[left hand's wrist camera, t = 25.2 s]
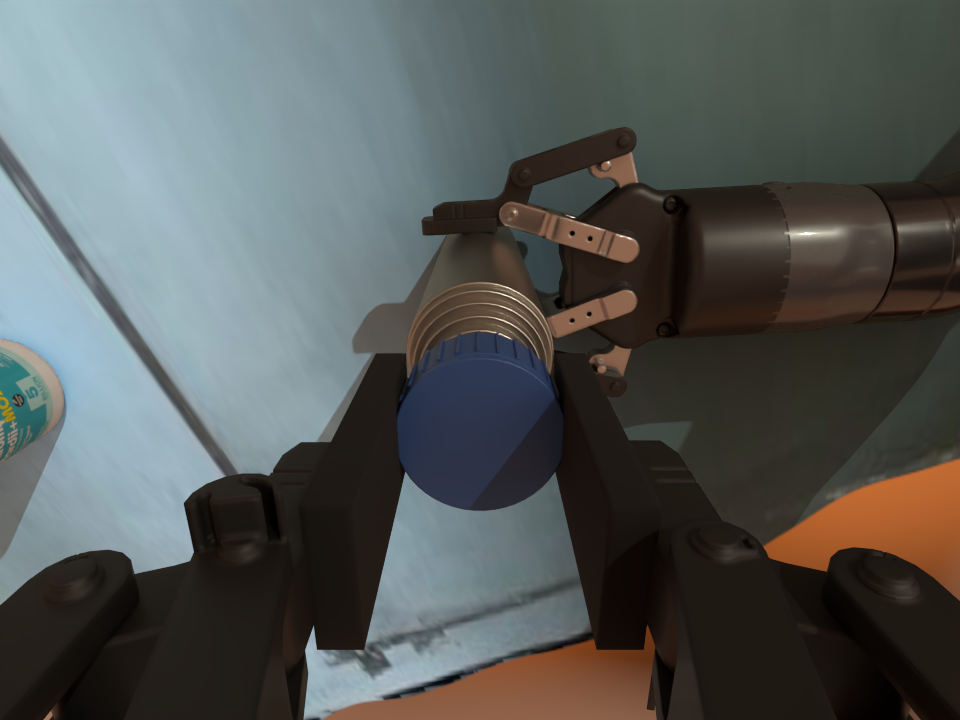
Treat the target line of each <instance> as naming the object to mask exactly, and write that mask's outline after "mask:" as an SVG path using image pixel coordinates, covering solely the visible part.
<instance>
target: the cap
mask: <svg viewBox="0 0 960 720" xmlns="http://www.w3.org/2000/svg"><path fill="white" fill-rule="evenodd" d="M559 399H561V398H560V395H559V391H558V388H557V385H556V382H555V379H554V376H553V374H552V375H550V374H549V372H548V370H547V367H546V364H545V361H544V360H542V361H541V360H540V359H539V358H538V357H537V356H536V355H535V354H534V353H533V349H532V348H529V349H528V348H527V347H525V346H524V345H522V344H520V343H518V342H517V339H515V338H514V339H513V340H512V339H509V338H507V337H503V336H499V333H496V334H487V333H480V331H477V333H474V334H465V335H461V333H460V334H458V336H457V337H454V338H451V339H449V340H446V341H444V340H441V341H440V344H439V345H437V346H436V347H434V348H433V349H431V350H430V351H429V350H426V351H425V354H424V356H423V357H422V358H421V360H420V361H419V362H418V363H414V365H413V368H412V371H411V375H410V377H409V378H406V381H405V384H404V387H403V390H402V393H401V396H400V399H399V403H401V404H400V408H399V411H398V414H397V430H398V447H399V460H400V462H401V464H402V466H403V468H404V470H405V471H406V473H407V474H408V476H409V477H410V479H411V480H412V481H413V482H414V483H415V484H416V485H417V486H418V487H419V488H420V489H421V490H422V491H424V492H425V493H426V494H428V495H429V496H431V497H432V498H434V499H436V500H438V501H440V502H442V503H444V504H447V505H450V506H452V507H456V508H460V509H465V510H474V511H486V510H496V509H500V508H505V507H508V506H511V505H514V504H517V503H519V502H521V501H523V500H525V499H527V498H528V497H530V496H531V495H533V494H534V493H536V492H537V491H538V490H539V489H541V488H542V487H543V486H544V485H545V484H546V483H547V482H548V481H549V479H550V478H551V477H552V475H553V474H554V472H555V471H556V469H557V467H558V465H559V464H560V461H561V458H562V441H563V424H564V415H563V412H562V409H561V405H560V402H559Z"/></svg>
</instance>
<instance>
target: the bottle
mask: <svg viewBox="0 0 960 720" xmlns="http://www.w3.org/2000/svg"><path fill="white" fill-rule="evenodd" d="M477 331H480V333H487V334H496V333H499V336H503V337H507V338H509V339H512V340H513V339H514V338H515V339H517V342H518V343H520V344H522V345H524V346H525V347H527V348H528V349H529V348H532V349H533V353H534V354H535V355H536V356H537V357H538V358H539V359H540V360H541V361H542V360H544V361H545V364H546V367H547V370H548V372H549V374H551V370H552V364H553V358H554V343H553V337H552V333H551V330H550V327H549V324H548V322H547V319H546V317H545V314H544V311H543V309H542V306H541V304H540V301H539V299H538V296H537V293H536V291H535V288H534V286H533V283H532V281H531V278H530V276H529V273H528V270H527V268H526V265H525V263H524V260H523V258H522V255H521V253H520V250H519V247H518V245H517V242H516V240H515V237H514V235H513V233H512V232H511V230H510V229H509V228H508V227H507V226H503V227H498V232H476V233H464V234H447V236H446V238H445V241H444V243H443V246H442V249H441V251H440V254H439V256H438V259H437V261H436V264H435V267H434V269H433V272H432V274H431V277H430V279H429V282H428V285H427V287H426V290H425V292H424V295H423V297H422V300H421V303H420V305H419V308H418V310H417V313H416V315H415V318H414V321H413V323H412V326H411V328H410V332H409V335H408V340H407V361H408V366H409V372H410V375H411V371H412V368H413V365H414V363H418V362H419V361H420V360H421V358H422V357H423V356H424V354H425V351H426V350H429V351H430V350H431V349H433V348H434V347H436V346H437V345H439V344H440V341H441V340H444V341H446V340H449V339H451V338H454V337H457V336H458V334H460V333H461V335H465V334H474V333H477Z"/></svg>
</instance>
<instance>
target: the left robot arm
mask: <svg viewBox="0 0 960 720" xmlns="http://www.w3.org/2000/svg"><path fill="white" fill-rule="evenodd" d="M406 378H407V365H406V353H402V354H376V355H375V356H374V358H373V360H372V362H371V364H370V366H369V368H368V370H367V372H366V374H365V376H364V378H363V380H362V382H361V384H360V386H359V388H358V390H357V392H356V394H355V396H354V398H353V400H352V402H351V404H350V406H349V408H348V410H347V412H346V414H345V415H344V417H343V419H342V421H341V423H340V425H339V427H338V429H337V431H336V433H335V435H334V437H333V439H332V441H331V442H301V443H299V444H298V445H296V446H295V447H294V448H292V449H291V450H289V451H288V452H286V453H285V454H284V455H282V457H281V459H280V460H279V462H278V463H277V465H276V466H275V468H274V469H273V473H271V474H270V476H267V475H263V474H238V475H233V476H228V477H223V478H221V479H218V480H216V481H213V482H210V483H208V484H206V485H204V486H203V487H201V488H199V489H198V490H196V491H195V492H193V493H192V494H191V495H190V497H189V498H188V499H187V500H186V501H185V502H184V507H185V511H186V516H187V521H188V526H189V530H190V535H191V540H192V544H193V549H194V553H193V556H192V558H191V561H189V562H186V563H182V564H178V565H175V566H171V567H166V568H161V569H156V570H152V571H147V572H142V573H137V574H134V570H133V566H132V563H131V560H130V559H129V558H128V557H127V556H126V555H125V554H124V553H122V552H117V551H112V550H100V551H89V552H85V553H80V554H78V555H73V556H70V557H67V558H65V559H63V560H61V561H59V562H57V563H55V564H53V565H51V566H49V567H46V568H45V569H44V570H42V571H41V572H39V573H38V574H37V575H35V576H34V577H32V578H31V579H30V580H28V581H27V582H26V583H25V584H24V585H23V586H21V587H20V588H19V589H18V590H17V591H16V592H15V593H14V594H12V595H11V596H10V597H9V598H8V599H7V600H6V601H5V602H4V603H2V604H1V605H0V720H43V719H44V718H45V717H46V716H47V715H48V713H49V712H50V711H51V712H52V714H53V716H52V717H51V719H50V720H303V718H304V708H305V699H306V689H307V680H308V669H307V661H306V654H305V649H306V646H307V643H308V640H309V637H310V634H311V631H312V628H313V626H314V630H315V638H316V645H317V650H364V648H365V643H366V639H367V635H368V630H369V626H370V622H371V617H372V613H373V609H374V604H375V600H376V596H377V591H378V587H379V583H380V578H381V574H382V570H383V565H384V561H385V557H386V553H387V548H388V544H389V540H390V535H391V531H392V527H393V522H394V518H395V514H396V509H397V505H398V501H399V496H400V492H401V488H402V483H403V479H404V475H405V470H404V468H403V466H402V464H401V462H400V460H399V447H398V430H397V414H398V411H399V408H400V404H401V403H399V399H400V396H401V393H402V390H403V387H404V384H405V381H406ZM554 379H555V382H556V385H557V388H558V391H559V395H560V398H561V399H559V402H560V405H561V409H562V412H563V415H564V424H563V441H562V458H561V461H560V464H559V465H558V467H557V469H556V471H555V472H556V476H557V481H558V485H559V489H560V494H561V498H562V502H563V507H564V511H565V515H566V519H567V524H568V528H569V532H570V537H571V541H572V545H573V550H574V554H575V558H576V563H577V567H578V571H579V576H580V580H581V584H582V589H583V593H584V597H585V602H586V606H587V610H588V615H589V619H590V623H591V627H592V632H593V636H594V640H595V645H596V649H597V650H643V649H644V643H645V635H646V627H647V624H648V627H649V629H650V632H651V635H652V638H653V641H654V644H655V646H656V647H655V655H654V661H653V668H652V676H651V683H650V690H649V697H648V704H647V709H649V710H654V708H655V707H656V716H657V720H914V719H913V718H912V717H911V716H910V715H909V711H910V709H911V708H912V710H913V711H914V712H915V713H916V714H917V716H918V717H919V718H920V719H921V720H960V601H959V600H958V599H957V598H956V597H954V596H953V595H952V594H951V593H950V592H949V591H948V590H947V589H945V588H944V587H943V586H942V585H941V584H940V583H939V582H938V581H936V580H935V579H934V578H933V577H931V576H930V575H929V574H927V573H926V572H924V571H923V570H922V569H920V568H919V567H917V566H916V565H914V564H912V563H910V562H908V561H906V560H903V559H901V558H899V557H898V556H895V555H893V554H890V553H887V552H882V551H879V550H874V549H866V548H855V547H853V548H848V549H843V550H839V551H837V552H836V553H835V554H834V555H833V556H832V557H831V558H830V562H829V566H828V570H827V572H825V571H820V570H816V569H811V568H806V567H801V566H797V565H792V564H787V563H784V562H780V561H776V560H773V559H770V558H769V557H768V555H767V553H766V551H765V549H764V548H763V546H762V545H761V544H760V542H759V541H758V540H757V539H756V538H755V537H753V536H752V535H750V534H749V533H748V532H746V531H745V530H743V529H741V528H739V527H737V526H734V525H732V524H730V523H727V522H723V521H722V520H721V518H720V517H719V515H718V514H717V512H716V511H715V509H714V508H713V506H712V504H711V503H710V501H709V500H708V498H707V497H706V495H705V494H704V492H703V491H702V489H701V488H700V486H699V484H698V483H696V480H695V478H694V477H693V475H692V474H691V472H690V471H688V468H687V466H686V464H685V463H684V461H683V460H682V458H681V457H680V455H679V454H678V453H677V452H676V451H674V450H673V449H671V448H670V447H668V446H667V445H666V444H664V443H663V442H661V441H629V440H628V438H627V436H626V434H625V432H624V430H623V428H622V426H621V424H620V422H619V420H618V418H617V416H616V414H615V412H614V410H613V408H612V406H611V404H610V402H609V400H608V398H607V396H606V394H605V392H604V391H603V389H602V387H601V385H600V383H599V381H598V379H597V377H596V375H595V373H594V371H593V369H592V367H591V365H590V363H589V361H588V359H587V357H586V355H585V353H555V358H554Z"/></svg>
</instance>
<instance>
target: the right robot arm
mask: <svg viewBox="0 0 960 720" xmlns="http://www.w3.org/2000/svg"><path fill="white" fill-rule="evenodd" d="M636 141H637V140H636V135H635V133H634V132H633V130H631V129H630V128H626V127H622V128H616V129H610V130H607V131H604V132H601V133H598V134H595V135H592V136H589V137H586V138H583V139H580V140H577V141H574V142H571V143H568V144H566V145H563V146H560V147H557V148H554V149H551V150H548V151H545V152H542V153H539V154H536V155H533V156H530V157H527V158H524V159H521V160H518V161H516V162H514V163H513V164H512V165H511V167H510V169H509V174H508V178H507V181H506V184H505V187H504V190H503V192H502V193H501V195H499V196H498V197H497V198H495V199H490V200H473V201H456V202H444V203H442V204H439V205H437V206H435V207H434V208H433V216H429V217H424V218H423V219H422V231H423V235H446V234H464V233H476V232H498V227H503V226H507V227H510V228H514V229H517V230H520V231H524V232H527V233H531V234H534V235H538V236H541V237H543V238H545V239H548V240H551V241H554V242H557V243H559V255H560V258H561V262H562V265H563V270H562V274H561V277H560V281H559V294H557V295H555V296H552V297H550V298H547V299H545V300H543V301H541V302H540V304H541V306H542V309H543V311H544V314H545V317H546V319H547V322H548V324H549V327H550V330H551V333H552V337H553V338H559V337H562V336H565V335H567V334H570V333H573V332H575V331H578V330H580V329H583V328H586V327H588V328H590V329H591V330H593V331H594V332H596V333H598V334H599V335H601V336H602V337H604V338H605V339H607V340H608V341H610V342H611V343H610V344H609V345H608V346H607V347H605V348H603V349H593V350H591V351H589V352H588V353H587V355H586V357H587V359H588V361H589V363H590V365H591V367H592V369H593V371H594V373H595V375H596V377H597V379H598V381H599V383H600V385H601V387H602V389H603V391H604V392H605V394H606V396H611V397H618V396H620V395H622V394H623V393H624V392H625V390H626V388H627V384H626V381H625V380H624V378H623V375H624V371H625V368H626V365H627V362H628V359H629V355H630V352H631V349H633V348H636V347H639V346H641V345H642V344H644V343H646V342H648V341H650V340H653V339H657V338H686V337H705V336H724V335H742V334H762V333H780V332H799V331H809V330H815V329H821V328H826V327H831V326H836V325H844V324H859V323H878V322H897V321H913V320H925V319H932V318H938V317H943V316H947V315H950V314H953V313H956V312H959V311H960V172H957V173H954V174H952V175H949V176H946V177H943V178H940V179H937V180H932V181H907V182H890V183H873V184H858V185H844V184H831V183H819V182H801V183H783V182H768V183H764V184H762V185H747V186H731V187H713V188H696V189H678V190H656V189H653V188H651V187H649V186H648V185H646V184H643V183H638V178H637V174H636V169H635V164H634V160H633V155H632V150H633V149H634V148H635V146H636ZM585 168H587V169H588V172H589V173H590V175H592V176H593V177H596V178H600V179H604V178H610V179H612V180H613V182H614V183H615V185H616V187H615V188H614V189H612V190H611V191H610V192H608V193H607V194H606V195H605V196H603V197H602V198H601V199H600V200H598V201H597V202H596V203H595V204H593V205H592V206H591V207H590V208H588V209H587V210H586V211H585V212H583V213H582V214H581V215H580V216H578V217H576V216H573V215H570V214H566V213H563V212H560V211H556V210H553V209H549V208H545V207H541V206H537V205H534V204H531V203H527V202H528V199H529V196H530V193H531V190H532V187H533V185H536V184H540V183H543V182H546V181H549V180H552V179H555V178H558V177H561V176H564V175H567V174H570V173H573V172H576V171H579V170H582V169H585ZM562 304H564V305H563V306H562ZM571 318H573V319H572V320H570V319H571ZM555 353H566V352H561V351H556V350H554V358H555ZM554 358H553V364H552V370H551V374H550V375H552V374H553V376H554Z"/></svg>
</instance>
